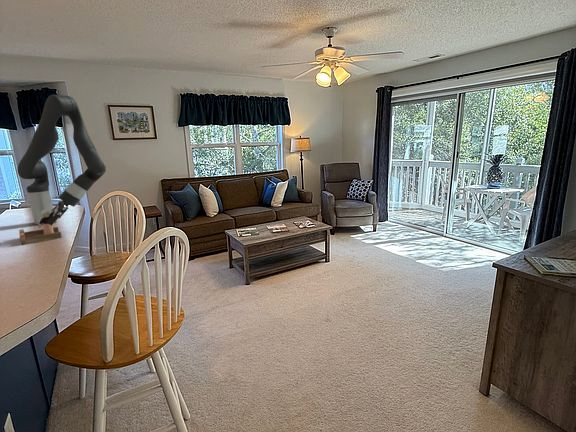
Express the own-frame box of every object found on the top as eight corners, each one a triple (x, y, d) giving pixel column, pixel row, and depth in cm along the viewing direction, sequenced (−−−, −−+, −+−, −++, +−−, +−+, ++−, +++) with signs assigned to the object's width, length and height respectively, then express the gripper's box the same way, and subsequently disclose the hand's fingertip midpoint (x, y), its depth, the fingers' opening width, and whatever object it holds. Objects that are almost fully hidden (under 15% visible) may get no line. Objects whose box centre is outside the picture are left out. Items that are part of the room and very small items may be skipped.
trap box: (21, 238, 141) (19, 229, 140) (58, 231, 150) (56, 223, 149) (21, 244, 132) (19, 236, 131) (61, 237, 141) (59, 229, 140)
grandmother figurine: (46, 239, 139) (40, 211, 136) (39, 238, 140) (33, 211, 137) (61, 233, 146) (56, 207, 143) (55, 233, 147) (49, 207, 144)
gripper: (63, 187, 149) (38, 215, 145) (67, 191, 139) (40, 220, 134) (78, 197, 154) (55, 223, 149) (83, 201, 143) (58, 229, 139)
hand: (48, 222), depth 142 cm, fingers open, 8 cm apart
